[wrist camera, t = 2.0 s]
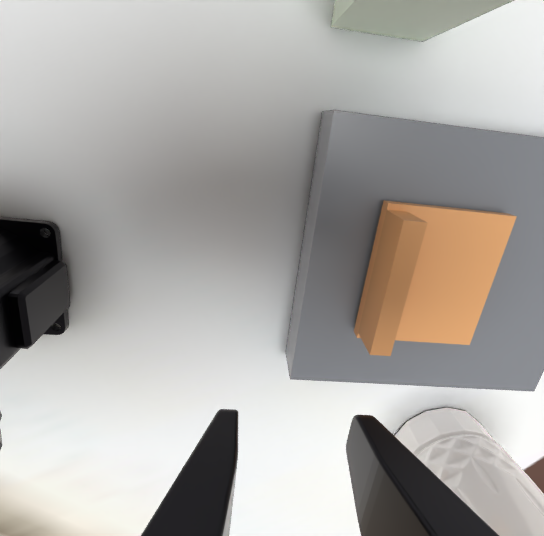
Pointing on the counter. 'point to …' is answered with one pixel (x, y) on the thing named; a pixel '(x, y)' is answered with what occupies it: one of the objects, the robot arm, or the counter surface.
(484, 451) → the white cup
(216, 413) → the robot arm
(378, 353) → the shutter
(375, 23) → the plug
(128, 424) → the counter surface
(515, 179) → the socket
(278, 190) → the counter surface
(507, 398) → the counter surface
